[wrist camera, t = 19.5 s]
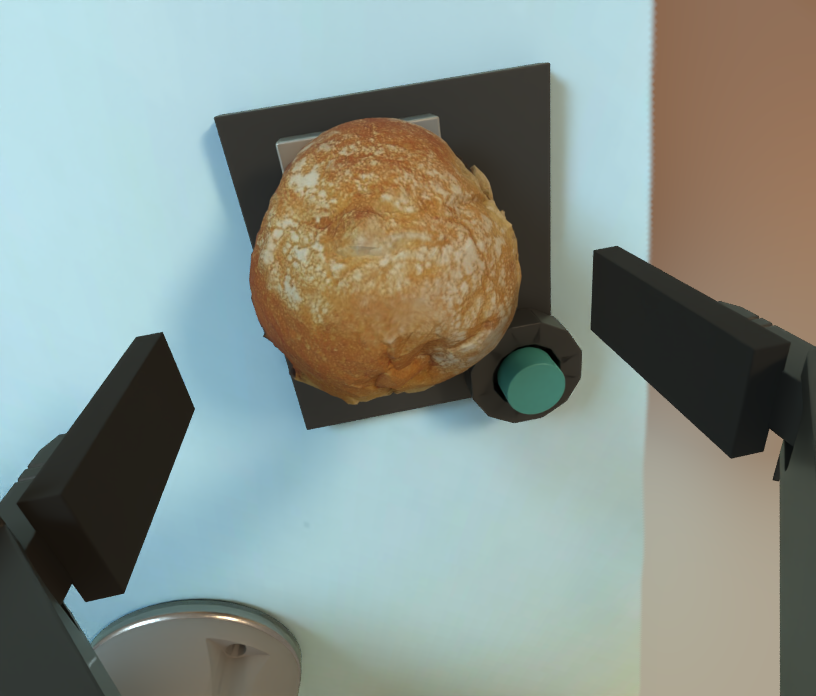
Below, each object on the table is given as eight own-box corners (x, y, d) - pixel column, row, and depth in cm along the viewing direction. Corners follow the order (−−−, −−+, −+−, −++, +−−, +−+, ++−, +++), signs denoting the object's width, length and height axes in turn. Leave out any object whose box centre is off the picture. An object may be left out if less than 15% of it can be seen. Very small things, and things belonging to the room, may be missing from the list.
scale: (558, 381, 31) (580, 410, 28) (311, 430, 30) (309, 465, 27) (561, 59, 22) (592, 57, 20) (218, 115, 21) (203, 120, 19)
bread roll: (494, 242, 25) (621, 223, 17) (390, 428, 24) (478, 491, 16) (322, 104, 21) (392, 5, 14) (188, 319, 20) (186, 337, 13)
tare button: (552, 389, 27) (565, 408, 26) (498, 400, 27) (508, 420, 26) (552, 341, 26) (566, 358, 24) (495, 352, 26) (505, 370, 24)
